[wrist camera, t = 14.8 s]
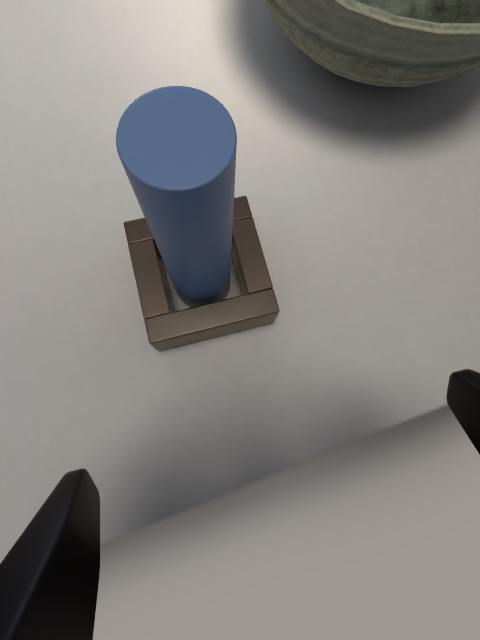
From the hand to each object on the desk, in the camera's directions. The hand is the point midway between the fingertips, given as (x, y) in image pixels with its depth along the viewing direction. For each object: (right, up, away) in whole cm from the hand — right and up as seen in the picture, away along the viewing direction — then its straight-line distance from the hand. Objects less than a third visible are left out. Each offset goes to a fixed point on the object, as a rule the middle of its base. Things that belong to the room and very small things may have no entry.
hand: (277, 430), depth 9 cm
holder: (-3, +5, +15) cm, 16 cm away
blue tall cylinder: (-3, +5, +15) cm, 16 cm away
